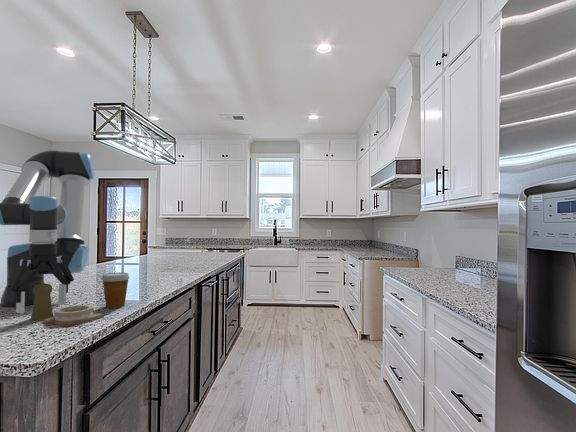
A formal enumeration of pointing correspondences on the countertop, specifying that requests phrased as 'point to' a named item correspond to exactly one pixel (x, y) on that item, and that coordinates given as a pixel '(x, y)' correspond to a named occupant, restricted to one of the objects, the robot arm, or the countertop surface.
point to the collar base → (72, 323)
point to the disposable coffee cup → (115, 288)
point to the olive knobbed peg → (42, 302)
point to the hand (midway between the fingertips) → (42, 308)
